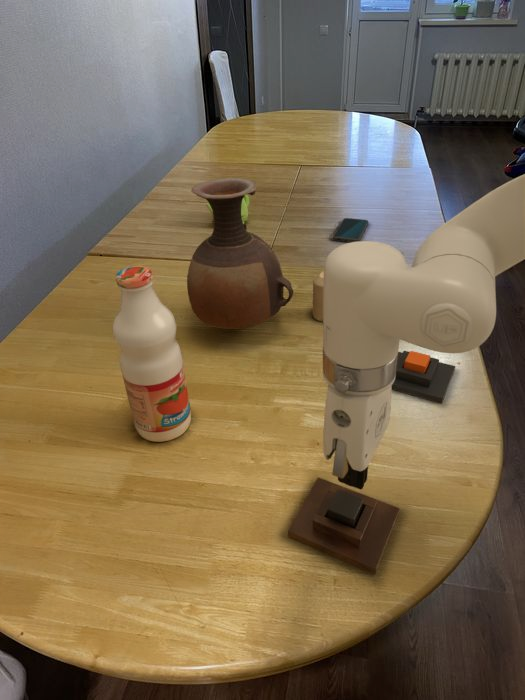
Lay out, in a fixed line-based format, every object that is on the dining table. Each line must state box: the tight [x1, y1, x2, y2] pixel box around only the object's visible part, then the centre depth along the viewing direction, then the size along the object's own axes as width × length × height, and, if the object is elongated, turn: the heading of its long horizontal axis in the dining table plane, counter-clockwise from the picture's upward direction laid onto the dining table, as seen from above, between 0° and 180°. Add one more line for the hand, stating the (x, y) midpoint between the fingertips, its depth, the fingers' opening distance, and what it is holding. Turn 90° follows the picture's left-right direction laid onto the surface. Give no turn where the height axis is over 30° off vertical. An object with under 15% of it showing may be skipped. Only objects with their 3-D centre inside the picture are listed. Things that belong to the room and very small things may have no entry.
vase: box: [186, 177, 294, 330], centre depth 101 cm, size 23×19×30 cm
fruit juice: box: [112, 265, 192, 443], centre depth 79 cm, size 9×9×28 cm
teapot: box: [205, 194, 251, 224], centre depth 155 cm, size 12×12×10 cm
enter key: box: [404, 350, 431, 374], centre depth 92 cm, size 4×4×2 cm
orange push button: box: [392, 350, 456, 404], centre depth 93 cm, size 12×10×3 cm
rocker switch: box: [327, 489, 364, 528], centre depth 67 cm, size 4×4×2 cm
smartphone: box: [332, 217, 369, 243], centre depth 148 cm, size 8×15×1 cm, turn 160°
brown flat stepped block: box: [287, 477, 401, 575], centre depth 68 cm, size 12×10×3 cm
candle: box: [312, 270, 324, 322], centre depth 110 cm, size 6×6×10 cm
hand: (352, 480), depth 64 cm, fingers closed
